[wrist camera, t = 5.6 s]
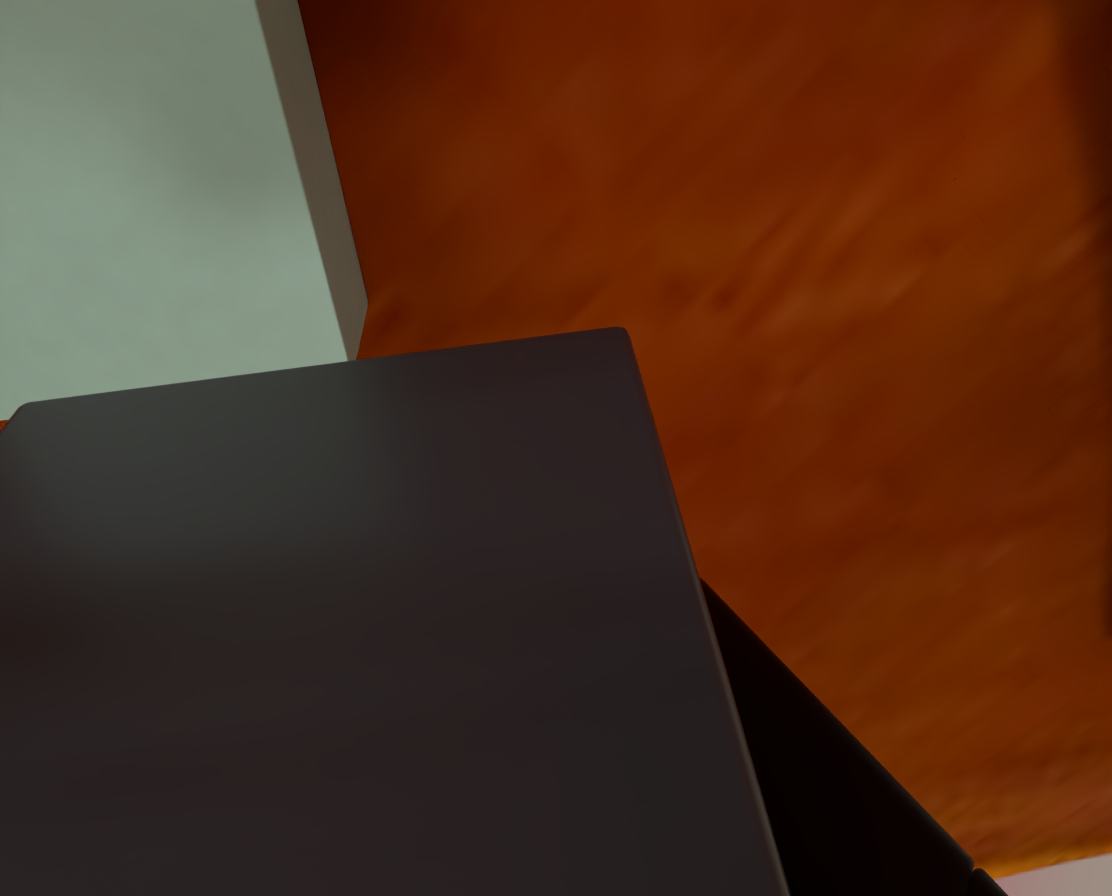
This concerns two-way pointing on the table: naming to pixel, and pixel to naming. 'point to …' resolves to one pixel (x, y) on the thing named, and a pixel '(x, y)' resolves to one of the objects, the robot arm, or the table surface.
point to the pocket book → (166, 198)
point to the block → (366, 639)
